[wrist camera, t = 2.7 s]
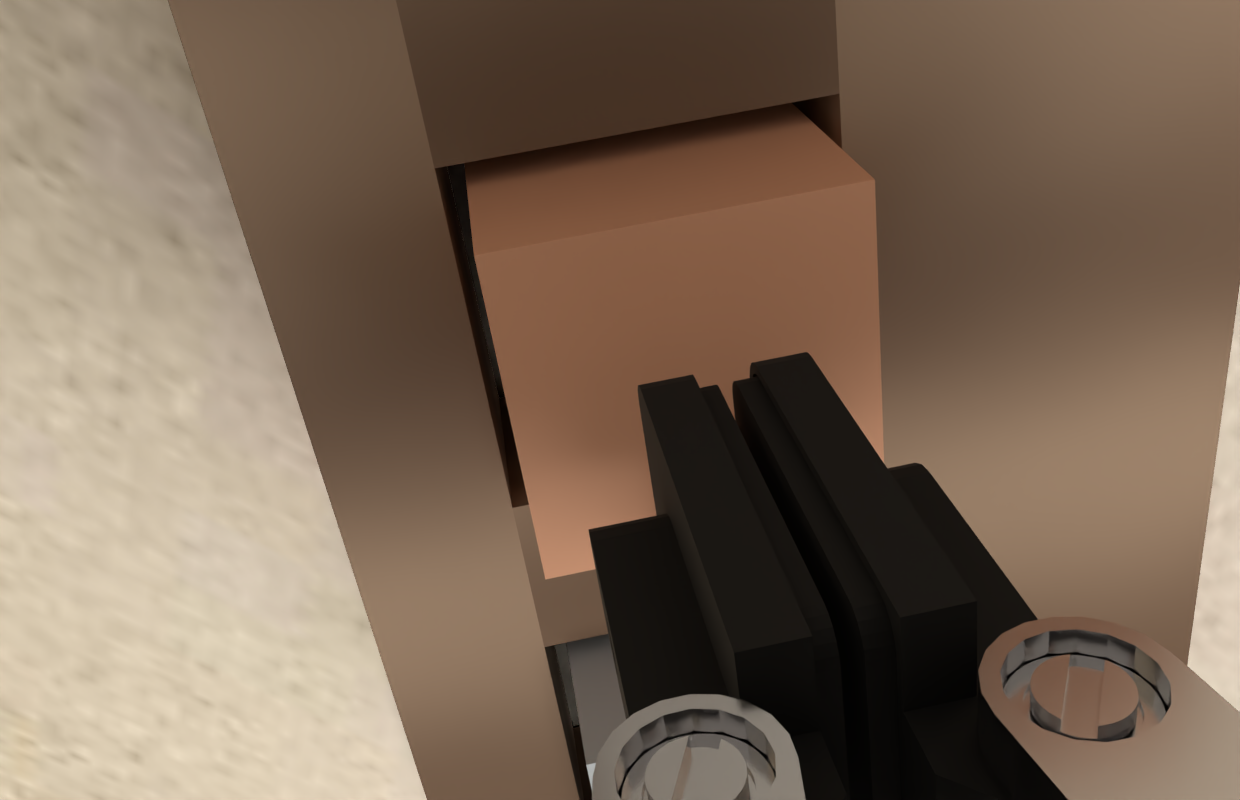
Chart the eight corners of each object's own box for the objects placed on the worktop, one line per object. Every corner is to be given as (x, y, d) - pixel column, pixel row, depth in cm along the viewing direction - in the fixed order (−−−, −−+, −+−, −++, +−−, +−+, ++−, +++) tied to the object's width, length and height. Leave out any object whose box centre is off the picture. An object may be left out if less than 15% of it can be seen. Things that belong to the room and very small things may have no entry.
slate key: (558, 592, 18) (585, 765, 15) (812, 539, 18) (891, 698, 15) (597, 775, 20) (629, 959, 17) (825, 725, 20) (898, 898, 17)
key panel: (-3, -772, 11) (-156, -962, 8) (1208, -932, 12) (1465, -1160, 9) (472, 817, 22) (479, 977, 19) (1081, 683, 22) (1177, 817, 20)
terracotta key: (463, 150, 14) (473, 255, 11) (779, 91, 14) (874, 179, 11) (522, 426, 16) (545, 579, 13) (799, 371, 16) (885, 509, 13)
